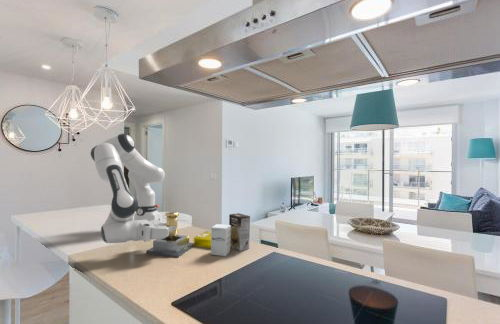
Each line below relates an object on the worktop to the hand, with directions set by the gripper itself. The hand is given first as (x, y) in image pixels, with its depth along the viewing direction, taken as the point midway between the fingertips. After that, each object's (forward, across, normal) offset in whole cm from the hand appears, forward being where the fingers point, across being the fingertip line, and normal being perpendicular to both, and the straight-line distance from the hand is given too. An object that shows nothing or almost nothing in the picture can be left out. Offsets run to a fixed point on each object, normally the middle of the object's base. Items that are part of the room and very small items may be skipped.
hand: (173, 226), depth 122 cm
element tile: (+20, 0, -12) cm, 23 cm away
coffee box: (+29, +13, -11) cm, 34 cm away
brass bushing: (-1, 0, -8) cm, 8 cm away
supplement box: (+18, +16, -11) cm, 26 cm away
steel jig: (-1, 0, -11) cm, 11 cm away
